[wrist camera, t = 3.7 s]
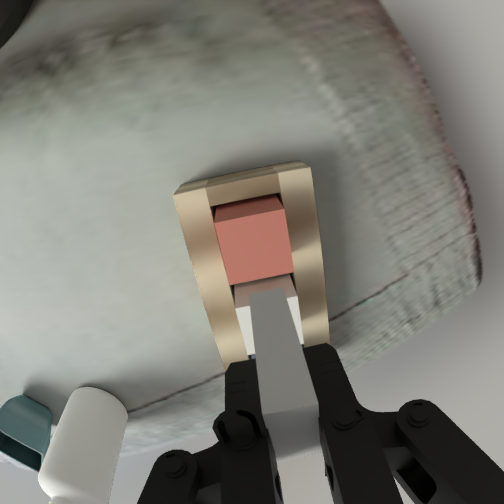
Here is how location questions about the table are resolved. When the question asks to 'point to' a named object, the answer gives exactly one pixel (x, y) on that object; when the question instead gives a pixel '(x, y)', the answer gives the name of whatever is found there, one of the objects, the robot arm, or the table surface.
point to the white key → (258, 286)
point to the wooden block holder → (303, 278)
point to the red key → (253, 238)
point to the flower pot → (25, 431)
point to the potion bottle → (84, 449)
